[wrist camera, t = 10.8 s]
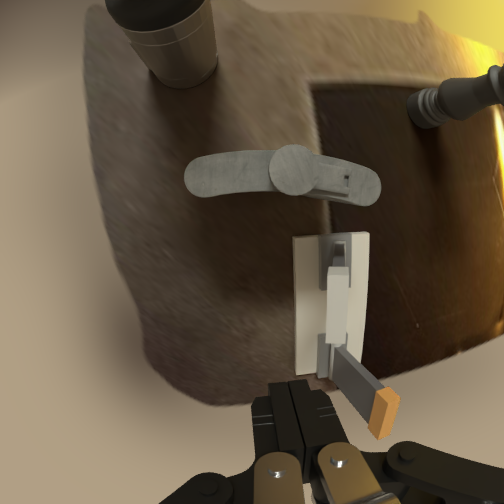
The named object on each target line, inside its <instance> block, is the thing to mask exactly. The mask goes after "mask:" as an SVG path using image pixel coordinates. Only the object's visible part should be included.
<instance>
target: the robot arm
mask: <svg viewBox="0 0 504 504" xmlns="http://www.w3.org/2000/svg"><path fill="white" fill-rule="evenodd" d="M105 3H106V7H107V10H108V12H109V13H110V15H111V16H112V18H113V19H114V20H115V21H116V23H117V24H118V25H119V26H120V28H121V29H122V30H123V32H124V33H125V34H126V36H127V37H128V38H129V44H130V45H131V46H132V48H133V49H134V50H135V52H136V53H137V54H138V56H139V57H140V58H141V60H142V61H143V62H144V64H145V65H146V66H147V67H148V69H149V70H152V71H153V72H154V74H155V75H156V77H157V78H158V79H159V80H160V81H161V82H162V83H163V84H165V85H166V86H169V87H172V88H177V89H185V88H190V87H194V86H196V85H199V84H200V83H202V82H204V81H205V80H206V79H207V78H209V77H210V75H211V74H212V73H213V72H214V70H215V68H216V65H217V61H218V57H217V47H216V39H215V31H214V23H213V15H212V7H211V0H105ZM251 412H252V423H253V435H254V446H255V461H254V462H253V464H252V466H251V467H250V468H249V469H247V470H246V471H244V472H242V473H240V474H237V475H234V476H230V477H227V478H226V477H225V476H223V475H221V474H217V473H211V472H208V473H201V474H198V475H196V476H194V477H192V478H191V479H190V480H188V481H187V482H186V483H185V484H184V485H182V486H181V487H180V488H178V489H177V490H176V491H175V492H173V493H172V494H171V495H169V496H168V497H167V498H165V499H164V500H163V501H161V502H160V503H159V504H305V499H304V491H303V484H305V483H310V484H311V488H312V495H311V499H312V502H313V504H504V469H503V468H498V467H494V466H490V465H486V464H482V463H478V462H475V461H471V460H468V459H464V458H461V457H457V456H454V455H451V454H448V453H445V452H442V451H439V450H436V449H432V448H430V447H427V446H424V445H421V444H418V443H416V442H412V441H403V442H399V443H396V444H395V445H393V446H392V447H391V448H390V449H389V450H388V452H372V453H371V452H363V451H360V450H359V449H358V448H357V447H355V446H354V445H352V444H350V443H349V441H348V439H347V436H346V434H345V432H344V429H343V427H342V425H341V423H340V420H339V418H338V416H337V415H336V411H335V409H334V407H333V404H332V402H331V399H330V397H329V396H328V395H327V394H326V393H325V392H323V391H322V390H321V389H319V390H312V391H311V390H310V387H309V385H308V382H307V380H306V379H302V380H294V381H288V382H278V383H268V396H263V397H256V398H255V400H254V402H253V403H252V405H251Z"/></svg>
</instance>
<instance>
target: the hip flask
mask: <svg viewBox="0 0 504 504" xmlns="http://www.w3.org/2000/svg"><path fill="white" fill-rule="evenodd" d="M184 182H185V185H186V187H187V189H188V190H189V191H190V192H191V193H192V194H193V195H195V196H197V197H202V198H207V197H213V196H218V195H224V194H231V193H241V192H257V191H278V192H282V193H285V194H287V195H296V196H297V195H303V196H306V197H310V198H317V199H323V200H330V201H336V202H342V203H348V204H354V205H360V206H369V205H371V204H373V203H374V202H375V201H376V200H377V199H378V197H379V195H380V192H381V183H380V180H379V177H378V176H377V174H376V173H375V172H374V171H372V170H371V169H369V168H366V167H363V166H360V165H358V164H355V163H351V162H348V161H345V160H341V159H337V158H333V157H328V156H323V155H318V154H313V153H312V151H310V150H309V149H308V148H305V147H304V146H300V145H295V144H292V145H287V146H283V147H282V148H280V149H279V150H250V151H235V152H226V153H219V154H213V155H207V156H202V157H198V158H196V159H194V160H193V161H191V162H190V163H189V165H188V166H187V168H186V169H185V173H184Z"/></svg>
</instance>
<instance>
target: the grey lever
mask: <svg viewBox="0 0 504 504" xmlns="http://www.w3.org/2000/svg"><path fill="white" fill-rule="evenodd" d="M348 291H349V267H346V241H345V240H334V257H333V265H332V267H329V268H328V274H327V318H326V342H325V343H334V344H345V341H346V327H347V311H348Z"/></svg>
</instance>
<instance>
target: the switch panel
mask: <svg viewBox="0 0 504 504" xmlns="http://www.w3.org/2000/svg"><path fill="white" fill-rule="evenodd" d="M292 239H293V269H294V318H295V373H296V375H302V374H309V373H316V375H317V377H318V378H324V377H329V367H330V353H331V343H325V342H326V318H327V274H328V268H329V267H332V265H333V257H334V240H345V241H346V267H349V291H348V311H347V327H346V341H345V344H342V346H343V347H344V348H345V349H346V350H347V351H348V352H349V353H350V354H351V355H352V356H353V357H354V358H355V359H356V360H357V361H358V362H360V363H361V355H362V346H363V337H364V327H365V316H366V304H367V288H368V268H369V233H367V232H352V233H332V234H318V235H306V236H292Z"/></svg>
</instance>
